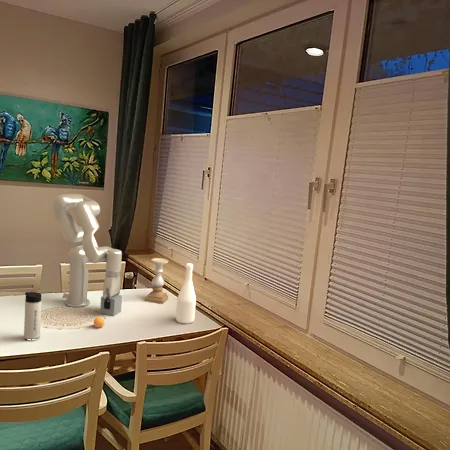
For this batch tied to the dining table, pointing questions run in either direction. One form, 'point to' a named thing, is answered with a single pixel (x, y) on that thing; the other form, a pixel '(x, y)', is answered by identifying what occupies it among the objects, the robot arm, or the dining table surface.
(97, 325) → the ball
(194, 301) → the wine bottle
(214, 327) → the dining table surface
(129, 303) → the dining table surface
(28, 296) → the travel mug
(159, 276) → the candle holder
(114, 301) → the matte gray cube
